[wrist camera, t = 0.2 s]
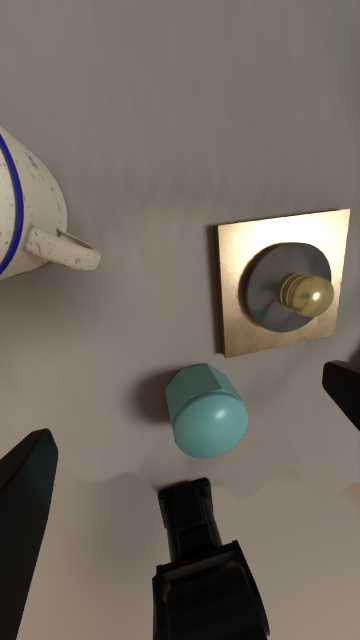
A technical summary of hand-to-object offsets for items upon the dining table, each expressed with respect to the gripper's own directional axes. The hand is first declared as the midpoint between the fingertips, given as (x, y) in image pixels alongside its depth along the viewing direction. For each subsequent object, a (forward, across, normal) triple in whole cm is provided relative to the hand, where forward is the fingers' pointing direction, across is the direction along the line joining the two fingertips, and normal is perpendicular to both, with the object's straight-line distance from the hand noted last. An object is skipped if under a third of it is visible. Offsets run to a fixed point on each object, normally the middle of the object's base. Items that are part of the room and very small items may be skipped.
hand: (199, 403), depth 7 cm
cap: (+14, -3, +10) cm, 18 cm away
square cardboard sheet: (+14, -12, 0) cm, 18 cm away
